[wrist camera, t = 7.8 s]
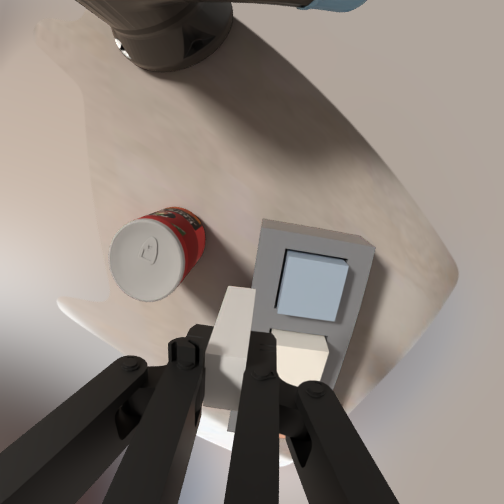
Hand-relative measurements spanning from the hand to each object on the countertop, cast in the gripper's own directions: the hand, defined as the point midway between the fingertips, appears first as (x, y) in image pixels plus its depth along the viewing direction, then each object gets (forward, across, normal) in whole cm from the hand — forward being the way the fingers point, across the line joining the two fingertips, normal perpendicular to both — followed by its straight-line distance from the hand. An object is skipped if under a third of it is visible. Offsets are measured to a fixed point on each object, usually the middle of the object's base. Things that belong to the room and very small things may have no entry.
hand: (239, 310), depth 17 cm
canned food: (+21, -10, -2) cm, 24 cm away
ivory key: (+17, +6, -13) cm, 22 cm away
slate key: (+18, +6, -4) cm, 20 cm away
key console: (+21, +6, -13) cm, 25 cm away
